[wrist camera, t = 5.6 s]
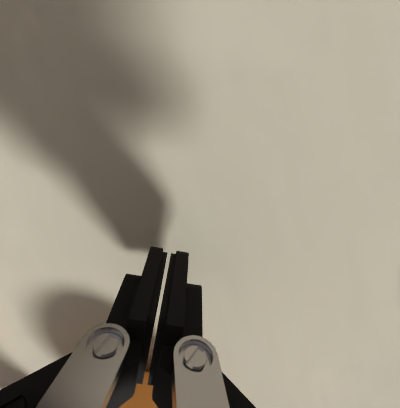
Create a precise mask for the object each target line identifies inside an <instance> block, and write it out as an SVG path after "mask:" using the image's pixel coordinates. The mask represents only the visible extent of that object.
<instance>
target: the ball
mask: <svg viewBox="0 0 400 408" xmlns="http://www.w3.org/2000/svg"><path fill="white" fill-rule="evenodd" d="M148 379H149V372H146V371H145V374H144V379H143V384H136V388H135V393H134V394H133V397H132V398H130V399H129V400H128V401H127V402H125V403H124V404H123V405H121V408H158V407H157V406H156V404H155V403H154V401H153V400H152V390H153V386H152V385H147V384H148Z"/></svg>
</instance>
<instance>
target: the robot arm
mask: <svg viewBox="0 0 400 408" xmlns="http://www.w3.org/2000/svg"><path fill="white" fill-rule="evenodd" d="M188 256H189V253H186V252H180V251H176V254H172V253H171V257H170V263H169V268H168V273H167V278H166V284H165V289H164V294H163V300H162V305H161V311H160V316H159V322H158V328H157V333H156V339H155V345H154V350H153V356H152V362H151V367H150V373H149V379H148V384H147V385H152V386H153V390H152V400H153V401H154V403H155V404H156V406H157V407H158V408H256V407H255V406H254V405H253V404H252V403H251V402H250V401H249V400H248V399H247V398H246V397H245V396H244V395H243V394H242V393H241V392H240V391H239V389H238V388H237V387H236V386H235V385H234V384H233V383H232V382H231V381H230V380H229V379H228V378H227V377H226V376H225V375H224V374H223V373H222V372H221V367H220V363H219V358H218V354H217V352H216V349H215V347H214V346H213V345H212V344H211V343H210V342H209V341H208V340H207V339H205V338H203V337H202V287H201V286H200V285H194V284H188V283H187V272H188ZM166 257H167V253H166V252H163V249H162V248H157V247H151V248H150V251H149V254H148V257H147V260H146V263H145V267H144V270H143V273H142V276H137V275H131V274H126V275H125V278H124V280H123V282H122V285H121V287H120V290H119V292H118V295H117V297H116V300H115V302H114V305H113V307H112V310H111V312H110V315H109V317H108V320H107V322H106V324H100V325H98V326H95V327H93V328H92V329H90V330H89V331H88V332H87V333H86V334H85V335H84V336H83V338H82V339H81V341H80V342H79V344H78V345H77V347H76V348H75V350H74V351H73V352H72V353H70V354H68V355H66V356H64V357H62V358H60V359H59V360H57V361H55V362H53V363H51V364H49V365H47V366H45V367H43V368H41V369H40V370H38V371H36V372H34V373H32V374H30V375H28V376H26V377H24V378H22V379H21V380H19V381H17V382H15V383H13V384H11V385H9V386H7V387H5V388H3V389H2V390H0V408H121V405H123V404H124V403H125V402H127V401H128V400H129V399H130V398H132V397H133V394H134V393H135V388H136V384H143V379H144V374H145V369H146V363H147V358H148V353H149V348H150V343H151V338H152V333H153V327H154V322H155V317H156V312H157V307H158V302H159V296H160V290H161V285H162V279H163V274H164V268H165V263H166Z"/></svg>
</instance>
